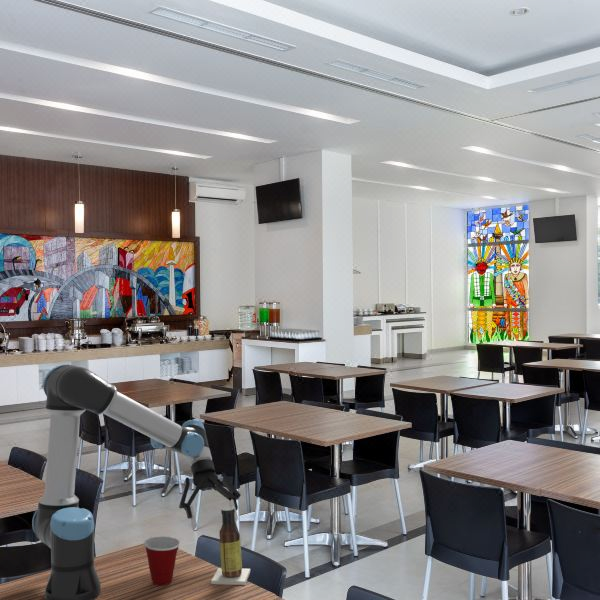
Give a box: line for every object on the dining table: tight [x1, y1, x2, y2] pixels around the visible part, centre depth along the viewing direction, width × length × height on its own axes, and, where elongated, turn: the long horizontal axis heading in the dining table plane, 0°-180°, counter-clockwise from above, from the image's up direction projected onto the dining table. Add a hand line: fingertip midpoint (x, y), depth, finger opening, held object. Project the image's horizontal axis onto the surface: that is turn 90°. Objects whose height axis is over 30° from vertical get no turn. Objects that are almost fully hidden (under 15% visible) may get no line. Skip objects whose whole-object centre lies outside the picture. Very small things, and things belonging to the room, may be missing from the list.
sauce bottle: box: [219, 506, 243, 577], centre depth 209 cm, size 7×6×20 cm
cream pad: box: [210, 567, 251, 586], centre depth 209 cm, size 10×10×1 cm
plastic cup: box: [143, 535, 181, 586], centre depth 207 cm, size 11×11×12 cm
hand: (215, 523), depth 220 cm, fingers open, 13 cm apart
